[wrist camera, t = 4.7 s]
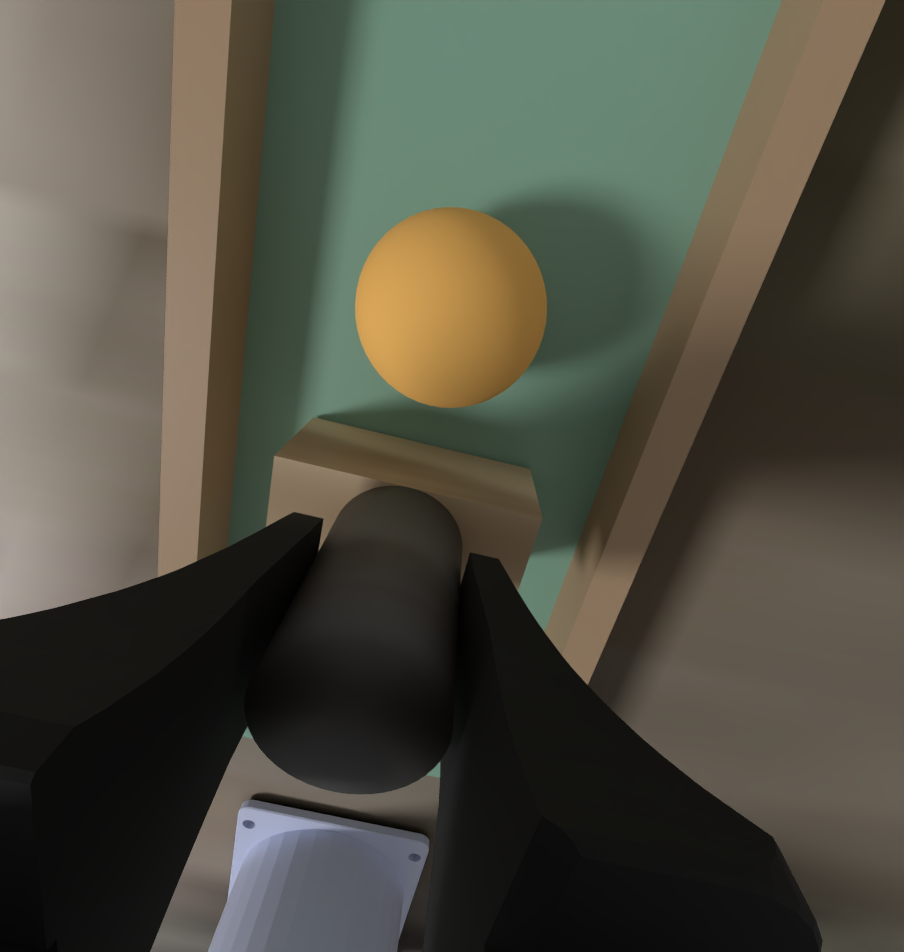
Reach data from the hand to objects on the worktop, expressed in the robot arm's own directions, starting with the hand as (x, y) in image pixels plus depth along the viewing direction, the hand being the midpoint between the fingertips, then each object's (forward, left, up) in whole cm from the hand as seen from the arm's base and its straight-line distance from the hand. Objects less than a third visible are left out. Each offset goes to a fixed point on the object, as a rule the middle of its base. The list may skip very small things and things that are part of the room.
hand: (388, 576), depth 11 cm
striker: (0, 0, -4) cm, 4 cm away
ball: (+5, 0, -2) cm, 6 cm away
